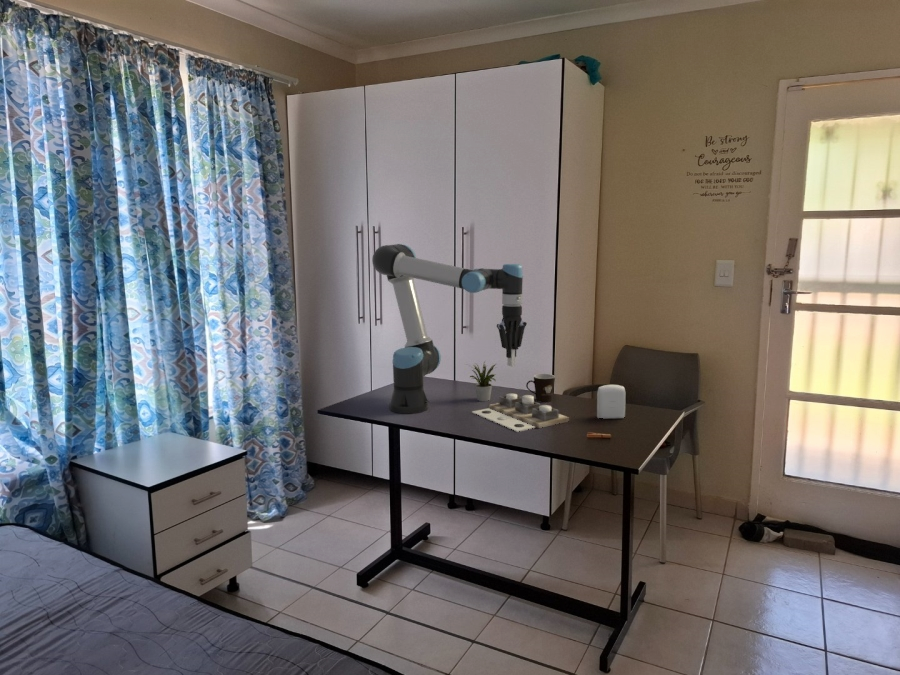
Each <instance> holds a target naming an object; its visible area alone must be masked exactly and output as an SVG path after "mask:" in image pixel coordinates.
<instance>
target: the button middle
mask: <svg viewBox="0 0 900 675" xmlns="http://www.w3.org/2000/svg"><path fill="white" fill-rule="evenodd" d="M521 397H522V404H523V405H526V406H529V405H533V404H534V402H535V396H534V395H531V394H530V395H529V394H525V395H522V396H521Z"/></svg>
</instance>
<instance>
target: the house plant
mask: <svg viewBox="0 0 900 675" xmlns="http://www.w3.org/2000/svg"><path fill="white" fill-rule="evenodd" d="M485 363H486V361H483V366H482V372H481V370H480V367H479V365H478V363H475V362H474V364H473V366H472V367H473V368H474V369H472V370H471V371H472V372H473V373H474V374H475V375H476V376H475V375H470V376H469V378H471V380H472V379H473V380H474V379H475V380H476V384H474V387H475V388H474V389H475V393H476V395H475V396H476V400H477V401H478V400H479V402H488V400H489V401H490V400H491V394H492V388H493V384H492V380H493V381H494V382H496V379H495V376H496V375H497V374H494V373H492V371H493V370H494V369H496V368H498V367H495V366H496V365H497V363H494V364H493V365H492V366H490V368H489V369H488V370H487V365H486V364H485ZM475 364H476V365H475ZM464 365H467V366H469V367H471V365H470V364H465V363H464ZM494 367H495V368H494Z"/></svg>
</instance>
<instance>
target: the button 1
mask: <svg viewBox="0 0 900 675" xmlns="http://www.w3.org/2000/svg"><path fill="white" fill-rule="evenodd" d="M505 396H506V398H507V399H510V400H512V399H517V396H518V394H517V393H511V392H510V393H506V394H505Z"/></svg>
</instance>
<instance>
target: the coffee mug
mask: <svg viewBox="0 0 900 675" xmlns="http://www.w3.org/2000/svg"><path fill="white" fill-rule="evenodd" d="M555 379H556V376H555V374H554V375H553V374H551V373H537V374H534V375H533V380H529V381H527V382H526V384H525V385H526V386H525V387H526V389H527V390H528V391H529V392H530V393H532V394H534V395H535V400H537V401H536V402H538V401H541V402H540V403H550V402H552V401H553V393H554V389H555V388H554V387H555ZM530 383H533V384H534V391H532V390H531V389H530V388H529V386H528V385H529V384H530Z"/></svg>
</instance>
